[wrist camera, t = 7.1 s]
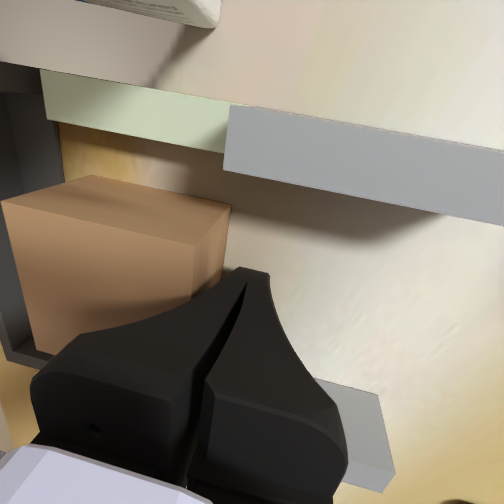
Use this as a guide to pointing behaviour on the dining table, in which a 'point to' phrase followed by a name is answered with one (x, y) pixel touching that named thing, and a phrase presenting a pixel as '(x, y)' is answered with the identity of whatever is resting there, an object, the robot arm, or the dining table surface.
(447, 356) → the dining table surface
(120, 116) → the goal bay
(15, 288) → the dark grey u-shaped bracket
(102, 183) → the block
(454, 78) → the dining table surface
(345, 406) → the grey rectangular slabs
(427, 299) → the dining table surface
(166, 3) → the ink box
